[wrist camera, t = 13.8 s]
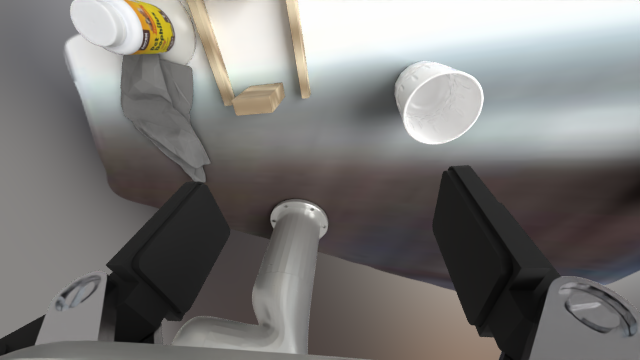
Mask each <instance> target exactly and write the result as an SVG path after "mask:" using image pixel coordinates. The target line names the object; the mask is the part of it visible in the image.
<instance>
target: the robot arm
mask: <svg viewBox="0 0 640 360" xmlns="http://www.w3.org/2000/svg"><path fill="white" fill-rule="evenodd" d="M270 220H271V224H272V226H273V228H274V230H273V233H272V236H271V239H270V242H269V245H268V248H267V250H266V253H265V256H264V259H263V262H262V265H261V268H260V270H259V273H258V276H257V279H256V282H255V285H254V288H253V293H252V303H253V308H254V311H255V314H256V317H257V319H258V322H259V325H253V324H245V323H240V322H236V321H231V320H226V319H221V318H216V317H210V316H199V317H195V318H193V319H191V320H189V321H188V322H186V323H185V324H184V325H183V327H182V328H181V329H180V330H179V332H178V333H177V335H176V336H175V338H174V340H173V342H172V344H171V345H163V338H162V324H161V322H162V320H163V318H166V319H167V320H168V321H181V320H182V318H183V316H184V314H185V313H186V312H187V311H188V310H189V309H190V308H191V306H192V304H193V303H194V301H195V299H196V297H197V295H198V293H199V291H200V289H201V288H202V286H203V284H204V282H205V280H206V278H207V276H208V275H209V273H210V271H211V269H212V267H213V265H214V263H215V262H216V260H217V258H218V256H219V254H220V252H221V250H222V248H223V247H224V245H225V243H226V241H227V239H228V237H229V235H230V228H229V226H228V224H227V222H226V220H225V218H224V217H223V215H222V213H221V211H220V209H219V207H218V205H217V203H216V201H215V199H214V198H213V196H212V194H211V192H210V190H209V188H208V186H207V185H204V183H203V182H200V181H196V182H186V183H185V184H183V185H182V186H181V188H180V189H179V190H178V191H177V192H176V193H175V194H174V195H173V196H172V197H171V198H170V199H169V200H168V201H167V202H166V203H165V204H164V205H163V206H162V207H161V208H160V209H159V210H158V211H157V212H156V213H155V214H154V216H153V217H152V218H151V219H150V220H149V221H148V222H147V223H146V224H145V225H144V226H143V227H142V228H141V229H140V230H139V231H138V232H137V233H136V234H135V235H134V236H133V237H132V238H131V239H130V240H129V242H128V243H127V244H126V245H125V246H124V247H123V248H122V249H121V250H120V251H119V252H118V253H117V254H116V255H115V256H114V257H113V258H112V259H111V260H110V261H109V262H108V263H107V264H106V266H107V267H108V268H109V269H111V270H112V271H113V272H112V273H111V274H110V275H107V274H106V273H105V272H104V271H94V272H90V273H87V274H85V275H83V276H81V277H79V278H77V279H75V280H74V281H72V282H71V283H69V284H68V285H67V286H65V287H64V288H63V289H62V290H61V291H60V292H59V293H58V294H57V295H56V296H55V297H54V299H53V300H52V302H51V303H50V305H49V307H48V310H47V313H46V314H45V315H43V316H42V317H40V318H38V319H36V320H34V321H32V322H31V323H29V324H27V325H25V326H23V327H22V328H20V329H18V330H16V331H14V332H12V333H11V334H9V335H7V336H5V337H3V338H1V339H0V360H371V359H358V358H357V359H356V358H344V357H331V356H318V355H308V324H309V312H310V304H311V296H312V289H313V281H314V273H315V265H316V258H317V251H318V243H319V239H320V238H321V237H322V236H323V235H324V234H325V233H326V231H327V228H328V218H327V216H326V214H325V212H324V211H323V210H322V209H321V208H320V207H319V206H317V205H316V204H314V203H312V202H309V201H306V200H301V199H290V200H285V201H283V202H281V203H279V204H277V205H276V206H275V207H274V209H273V211H272V214H271V219H270ZM433 232H434V235H435V238H436V240H437V243H438V245H439V248H440V251H441V253H442V256H443V258H444V261H445V264H446V266H447V269H448V271H449V274H450V277H451V279H452V282H453V284H454V287H455V289H456V292H457V295H458V297H459V300H460V302H461V305H462V308H463V310H464V313H465V315H466V318H467V320H468V322H469V324H471V325H475V326H476V329H477V331H478V334H479V336H480V337H494V338H495V340H496V343H497V345H498V347H499V349H500V350H501V351H502V352H501V355H500V357H499V360H640V312H639V311H638V310H637V309H636V308H635V307H634V306H633V305H632V304H631V303H630V302H629V301H628V300H626V299H625V298H623V297H622V296H620V295H619V294H617V293H616V292H615V291H613V290H611V289H609V288H607V287H605V286H603V285H601V284H599V283H597V282H594V281H591V280H588V279H585V278H580V277H574V276H565V277H561V276H560V275H559V273H558V272H557V271H556V270H555V268H554V267H553V266H552V265H551V263H550V262H549V261H548V260H547V258H546V257H545V256H544V255H543V254H542V252H541V251H540V250H539V249H538V247H537V246H536V245H535V244H534V242H533V241H532V240H531V239H530V237H529V236H528V235H527V234H526V232H525V231H524V230H523V229H522V227H521V226H520V225H519V224H518V222H517V221H516V220H515V219H514V218H513V216H512V215H511V214H510V213H509V211H508V210H507V209H506V208H505V206H504V205H502V204H501V203H500V202H498V201H497V200H496V198H495V197H494V196H493V194H492V193H491V192H490V191H489V189H488V188H487V187H486V186H485V184H484V183H483V182H482V181H481V179H480V178H479V177H478V176H477V174H476V173H475V172H474V171H473V169H472V168H471V167H470V166H468V165H466V166H451V167H449V169H448V171H444V172H443V174H442V179H441V184H440V189H439V194H438V199H437V204H436V209H435V214H434V219H433Z"/></svg>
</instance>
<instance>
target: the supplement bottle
mask: <svg viewBox="0 0 640 360" xmlns="http://www.w3.org/2000/svg"><path fill="white" fill-rule="evenodd" d="M70 15H71V19H72V22H73V24H74V26H75V27H76V29H77V30H78V32H79V33H80V34H81V35H82V36H83V37H84V38H85V39H86V40H88V41H89V42H91V43H93V44H95V45H98V46H102V47H103V48H105V49H106V50H108V51H110V52H113V53H116V54H120V55H135V54H161V53H166V52H168V51H170V50H171V49H172V48H173V46H174V44H175V40H176V33H175V29H174V26H173V24H172V22H171V20H170V18H169V17H168V16H167V15H166V13H165V12H163V11H162V10H161V9H160V8H158V7H156V6H154V5H152V4H149V3H145V2H142V1H138V0H74V1H73V2H72V5H71V7H70Z"/></svg>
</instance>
